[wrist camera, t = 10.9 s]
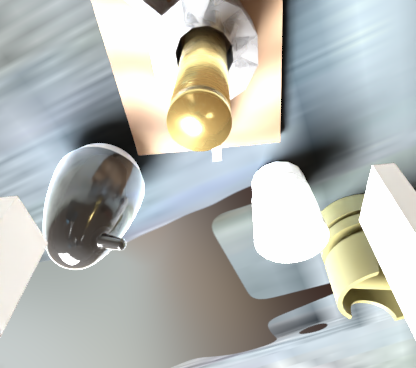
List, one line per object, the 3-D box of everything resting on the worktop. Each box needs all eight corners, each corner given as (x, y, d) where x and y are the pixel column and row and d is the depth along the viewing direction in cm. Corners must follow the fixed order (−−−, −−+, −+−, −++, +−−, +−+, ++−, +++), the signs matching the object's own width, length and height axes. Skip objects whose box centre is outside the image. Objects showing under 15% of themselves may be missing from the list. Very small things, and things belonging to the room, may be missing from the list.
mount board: (81, -53, 28) (75, -51, 26) (281, -84, 26) (284, -84, 25) (140, 148, 40) (138, 155, 39) (278, 135, 39) (280, 142, 37)
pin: (182, 20, 30) (160, 96, 17) (222, 15, 29) (229, 89, 17) (189, 61, 32) (173, 154, 19) (226, 56, 31) (234, 148, 19)
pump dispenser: (161, 188, 44) (142, 288, 32) (90, 201, 46) (47, 300, 34) (133, 121, 38) (96, 214, 26) (52, 139, 39) (-18, 234, 28)
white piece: (100, -48, 26) (80, -42, 23) (248, -71, 25) (255, -69, 22) (151, 141, 38) (144, 167, 34) (256, 131, 37) (260, 156, 33)
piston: (414, 324, 42) (326, 321, 42) (378, 250, 51) (305, 247, 51) (461, 270, 35) (355, 266, 35) (409, 195, 44) (325, 191, 44)
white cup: (321, 171, 42) (345, 229, 34) (284, 211, 46) (299, 270, 38) (269, 147, 40) (282, 203, 32) (236, 191, 44) (240, 250, 36)
